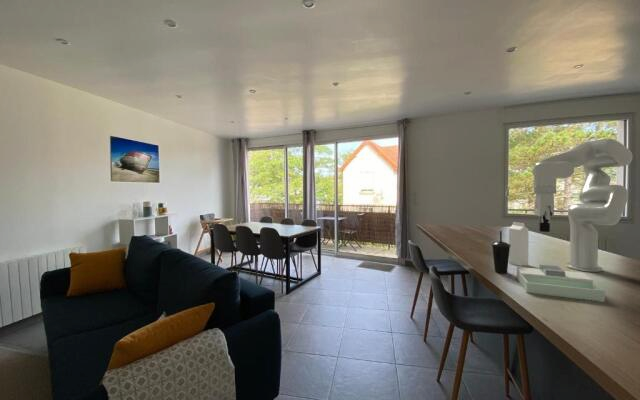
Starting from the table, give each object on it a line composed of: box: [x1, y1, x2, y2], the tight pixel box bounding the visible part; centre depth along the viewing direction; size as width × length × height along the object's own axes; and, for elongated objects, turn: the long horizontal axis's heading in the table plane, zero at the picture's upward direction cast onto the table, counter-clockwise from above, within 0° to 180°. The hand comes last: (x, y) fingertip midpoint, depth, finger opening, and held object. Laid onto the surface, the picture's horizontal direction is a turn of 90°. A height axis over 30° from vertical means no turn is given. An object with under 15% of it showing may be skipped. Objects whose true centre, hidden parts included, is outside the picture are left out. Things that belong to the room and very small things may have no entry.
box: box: [520, 276, 606, 303], centre depth 101 cm, size 9×22×4 cm, turn 63°
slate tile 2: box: [543, 268, 565, 277], centre depth 107 cm, size 4×6×2 cm, turn 63°
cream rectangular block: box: [516, 266, 594, 283], centre depth 109 cm, size 9×22×5 cm, turn 63°
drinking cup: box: [491, 230, 511, 274], centre depth 126 cm, size 8×8×20 cm
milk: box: [508, 221, 529, 267], centre depth 138 cm, size 6×6×22 cm
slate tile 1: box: [539, 264, 562, 272], centre depth 111 cm, size 4×6×2 cm, turn 63°
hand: (544, 231), depth 117 cm, fingers closed
